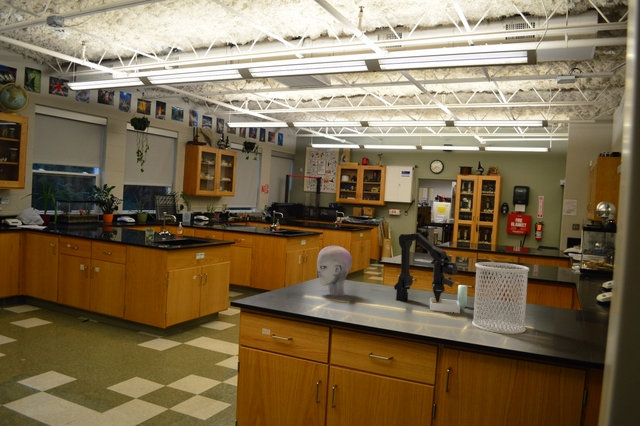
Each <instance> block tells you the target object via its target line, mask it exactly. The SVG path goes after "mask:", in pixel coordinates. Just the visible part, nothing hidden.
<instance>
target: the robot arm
mask: <svg viewBox="0 0 640 426" xmlns="http://www.w3.org/2000/svg"><path fill="white" fill-rule="evenodd" d="M415 241H416V242H417V243H418V244H419V245H420V246H421V247H423V249H425V250H426V251H428V253H429V255H430V257H431V258H432V261H431V262H430V264H432V265H433V273H432V276H433V277H432V280H431V287H432V292H433V296H434V297H435V299H436V302H439V299H440V297H441V295H442V293H444V292H445V289H446V286H449V287H450V288H453V285H454V284H455V281H454V280H452V277H450V276H456V275H457V274H458V271H459V268H458V266H457V263H456V262H451V261H450V259H449V257H448V255H447V252H446V251H445V250H443V249H442V248H440V247H438V246H436V245H434V244H433V243H432V242H431V241H430V240H428V238H426V237H425V236H424V235H422V233H420V232H414V233H402V234H400V235H399V236H398V244H399V247H400V249H401V251H400V253H401V254H400V257H401V259H400V260H401V261H400V264H401V265H400V273H399V276H398V279H397V282H396V283H395V284H394V285H393V289H394V290H395V291H396V293H395V294H396V296H395V300H396V301H404V302H407V301H408V300H409V292H408V290H410V289H411V287H412V286H413V283H414V281H413V280H414V276H413V275H411V274H410V256H411V255H410V254H411V251H410V250H411V247H412V245H413V242H415ZM445 274H446V275H450V276H448V277H445Z"/></svg>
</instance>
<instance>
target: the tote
mask: <svg viewBox="0 0 640 426" xmlns="http://www.w3.org/2000/svg"><path fill="white" fill-rule="evenodd" d="M432 299H433V297H430V298H429V309H430V310H429V311H432V312H433V311H434V312H445V313H453V312H454V313H456V314H460V313H461V312H460V311H461V307H460V304H459V302H458V299H457V300H456V299H455V300H453V299H443V298H442V304H438V303H432Z"/></svg>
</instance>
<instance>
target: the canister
mask: <svg viewBox="0 0 640 426" xmlns="http://www.w3.org/2000/svg"><path fill="white" fill-rule="evenodd" d="M467 299H468V285H465V284H459V285H458V287H457V301H458V302H459V304H460V308H467Z"/></svg>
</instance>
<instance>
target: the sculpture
mask: <svg viewBox="0 0 640 426" xmlns="http://www.w3.org/2000/svg"><path fill="white" fill-rule="evenodd" d="M352 265H353V258H352V255H351V254H350V252H349V251H348V250H347V249H346V248H344V247H342V246H339V245H328V246H326V247H323V248H322V249H321V250H320V251H319V252H318V256H317V260H316V269H317V276H318V279H319V283H320V285H322V286H324V287H326V286H328V291H327V292H328V295H330V296H346V292H345V280H346V279H347V276H348V274H349V273H350V270H351V268H352Z"/></svg>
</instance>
